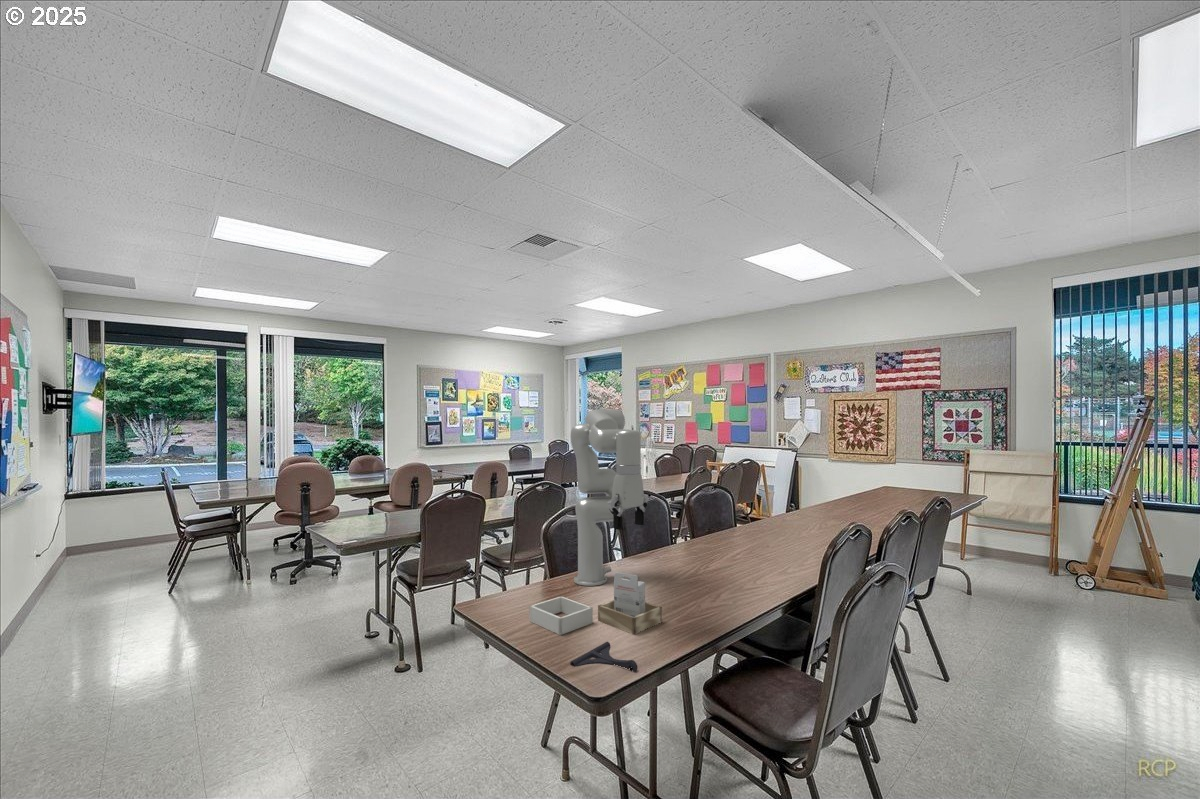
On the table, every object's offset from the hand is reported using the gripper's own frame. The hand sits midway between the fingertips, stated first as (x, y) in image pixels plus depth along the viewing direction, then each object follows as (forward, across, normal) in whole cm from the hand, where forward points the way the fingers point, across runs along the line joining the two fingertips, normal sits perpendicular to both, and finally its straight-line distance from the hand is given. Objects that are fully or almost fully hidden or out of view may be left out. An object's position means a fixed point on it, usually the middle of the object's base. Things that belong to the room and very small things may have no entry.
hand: (628, 526), depth 155 cm
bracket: (+29, +23, +15) cm, 40 cm away
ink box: (+28, 0, 0) cm, 29 cm away
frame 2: (+28, 0, 0) cm, 28 cm away
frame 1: (+28, +15, -14) cm, 35 cm away
